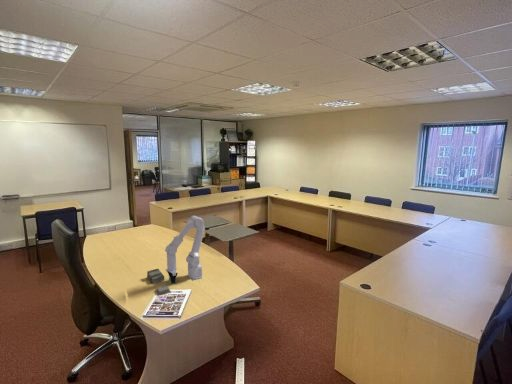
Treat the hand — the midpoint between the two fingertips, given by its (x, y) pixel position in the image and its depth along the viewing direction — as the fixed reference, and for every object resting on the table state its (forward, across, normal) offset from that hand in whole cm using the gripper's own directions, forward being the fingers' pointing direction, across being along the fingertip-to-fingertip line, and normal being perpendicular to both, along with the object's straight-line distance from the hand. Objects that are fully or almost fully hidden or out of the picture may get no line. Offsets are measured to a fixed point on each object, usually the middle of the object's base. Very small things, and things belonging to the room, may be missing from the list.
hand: (172, 281), depth 184 cm
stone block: (+2, -11, -10) cm, 15 cm away
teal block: (+1, 0, 0) cm, 1 cm away
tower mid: (0, +10, -8) cm, 13 cm away
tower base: (+2, +10, -8) cm, 13 cm away
